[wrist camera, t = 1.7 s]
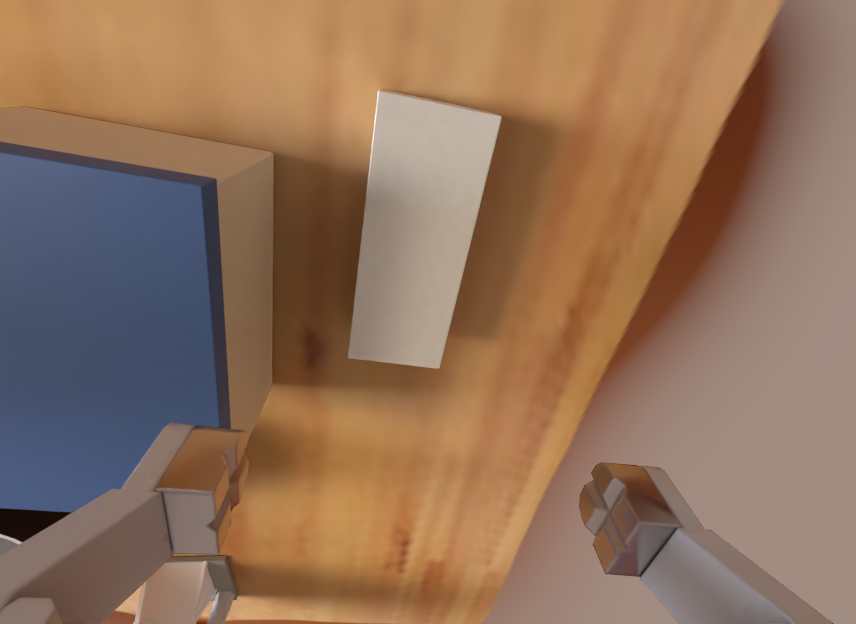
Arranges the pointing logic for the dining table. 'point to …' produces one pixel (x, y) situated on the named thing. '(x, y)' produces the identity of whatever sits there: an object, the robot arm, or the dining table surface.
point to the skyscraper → (187, 591)
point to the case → (417, 225)
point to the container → (124, 298)
